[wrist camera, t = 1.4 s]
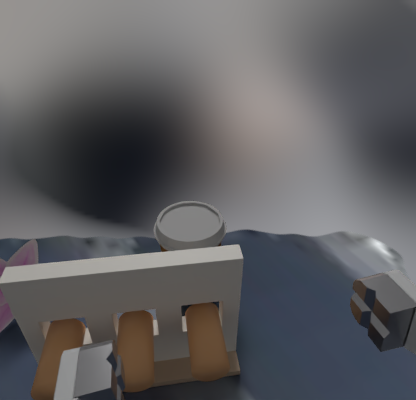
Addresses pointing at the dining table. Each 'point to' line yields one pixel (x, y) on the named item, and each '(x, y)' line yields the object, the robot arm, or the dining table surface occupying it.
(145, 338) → the button middle
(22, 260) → the lily
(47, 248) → the dining table surface
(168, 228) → the disposable coffee cup
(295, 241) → the dining table surface
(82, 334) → the button left
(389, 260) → the dining table surface
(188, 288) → the panel
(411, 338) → the robot arm
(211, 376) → the button right
